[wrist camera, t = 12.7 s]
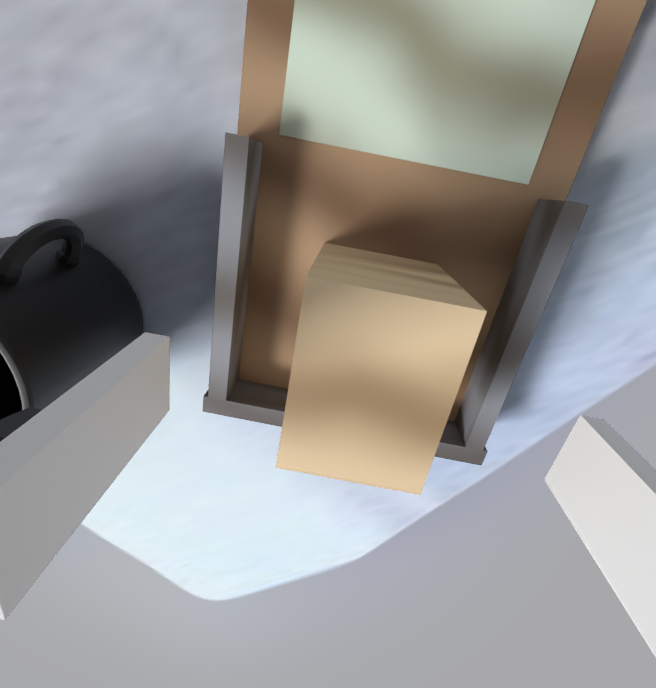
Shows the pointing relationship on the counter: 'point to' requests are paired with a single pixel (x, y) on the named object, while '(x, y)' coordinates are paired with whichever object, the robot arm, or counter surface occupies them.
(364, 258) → the oak block
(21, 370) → the mug
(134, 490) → the counter surface
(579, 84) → the slot board
